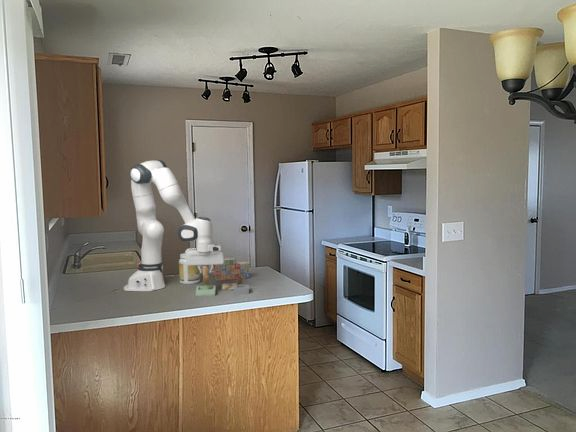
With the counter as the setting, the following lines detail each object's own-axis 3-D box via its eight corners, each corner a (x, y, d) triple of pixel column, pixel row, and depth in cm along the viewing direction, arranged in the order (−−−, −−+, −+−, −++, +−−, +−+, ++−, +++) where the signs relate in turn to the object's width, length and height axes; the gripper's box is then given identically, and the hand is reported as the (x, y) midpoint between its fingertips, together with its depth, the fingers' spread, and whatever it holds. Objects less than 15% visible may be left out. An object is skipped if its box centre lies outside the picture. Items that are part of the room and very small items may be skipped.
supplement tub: (202, 279, 295) (202, 252, 293) (197, 284, 283) (196, 256, 281) (183, 279, 296) (182, 251, 294) (176, 284, 284) (175, 255, 282)
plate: (222, 290, 271) (222, 286, 271) (222, 287, 277) (222, 283, 277) (236, 290, 272) (236, 285, 272) (236, 287, 278) (236, 283, 277)
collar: (234, 293, 262) (233, 288, 262) (234, 290, 270) (234, 284, 270) (249, 293, 263) (248, 288, 263) (248, 289, 271) (248, 284, 271)
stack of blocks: (247, 275, 306) (247, 256, 304) (250, 278, 300) (250, 258, 298) (213, 278, 298) (213, 258, 297) (215, 281, 292) (215, 260, 291)
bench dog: (236, 289, 272) (236, 278, 271) (236, 287, 277) (236, 276, 276) (242, 289, 272) (242, 278, 272) (242, 287, 277) (241, 276, 277)
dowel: (202, 285, 261) (202, 266, 260) (203, 283, 265) (202, 265, 263) (209, 284, 262) (208, 266, 261) (209, 283, 265) (208, 265, 264)
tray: (195, 296, 258) (195, 290, 258) (197, 291, 268) (197, 285, 268) (215, 295, 259) (214, 289, 259) (215, 290, 269) (215, 285, 269)
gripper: (184, 249, 257) (185, 275, 258) (223, 247, 259) (224, 273, 260) (185, 247, 263) (186, 272, 265) (224, 245, 265) (224, 270, 267)
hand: (205, 272), depth 262 cm, fingers closed on dowel, 3 cm apart
